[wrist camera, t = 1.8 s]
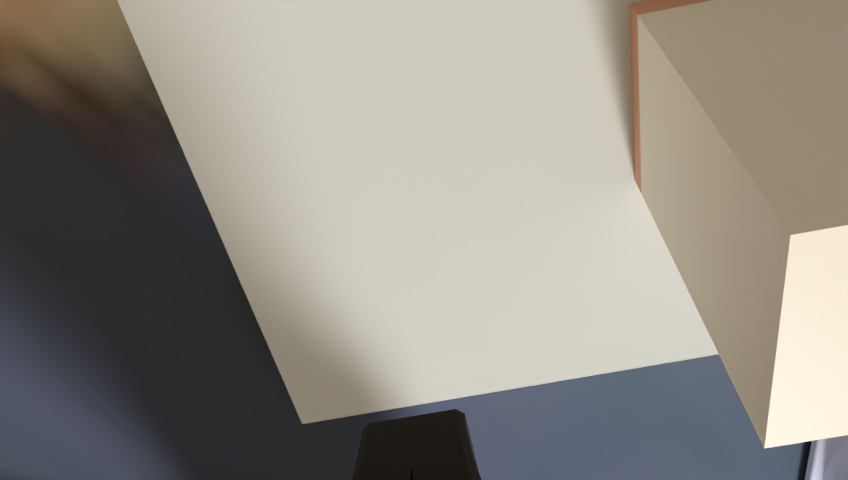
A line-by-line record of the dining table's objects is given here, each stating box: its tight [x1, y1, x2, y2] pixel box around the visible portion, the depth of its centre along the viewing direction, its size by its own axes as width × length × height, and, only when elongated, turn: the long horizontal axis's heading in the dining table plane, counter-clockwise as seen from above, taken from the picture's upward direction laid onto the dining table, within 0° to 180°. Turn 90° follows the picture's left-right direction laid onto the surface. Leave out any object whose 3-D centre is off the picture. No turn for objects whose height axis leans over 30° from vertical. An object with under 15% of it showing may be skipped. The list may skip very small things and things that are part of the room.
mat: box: [117, 0, 718, 424], centre depth 18 cm, size 18×24×1 cm
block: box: [630, 0, 848, 448], centre depth 15 cm, size 4×4×8 cm
